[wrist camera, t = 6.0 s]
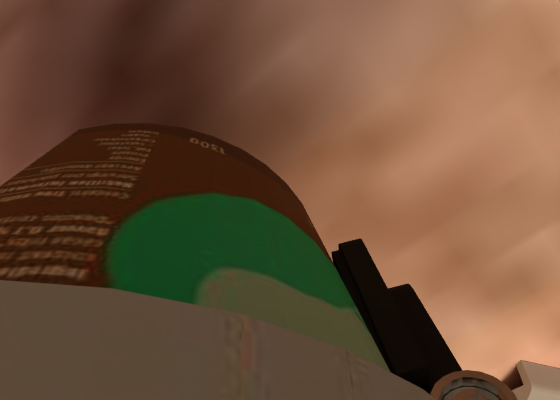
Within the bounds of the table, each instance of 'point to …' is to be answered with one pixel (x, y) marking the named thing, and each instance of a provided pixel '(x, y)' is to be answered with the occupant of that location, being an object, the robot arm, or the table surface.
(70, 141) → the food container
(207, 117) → the table surface
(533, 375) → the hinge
